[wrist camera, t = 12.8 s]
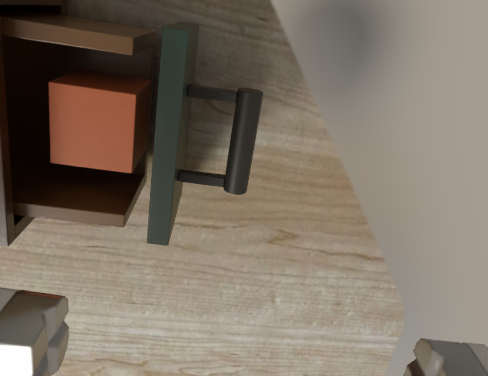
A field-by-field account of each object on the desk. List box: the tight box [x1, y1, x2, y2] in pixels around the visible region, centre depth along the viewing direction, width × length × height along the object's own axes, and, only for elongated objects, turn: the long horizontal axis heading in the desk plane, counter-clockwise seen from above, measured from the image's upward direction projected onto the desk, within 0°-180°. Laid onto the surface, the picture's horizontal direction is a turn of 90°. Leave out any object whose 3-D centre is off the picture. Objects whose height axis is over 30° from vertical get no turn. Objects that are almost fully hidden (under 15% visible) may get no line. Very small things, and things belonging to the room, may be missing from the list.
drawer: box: [0, 5, 263, 245], centre depth 24 cm, size 18×11×7 cm, turn 81°
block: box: [48, 69, 152, 173], centre depth 24 cm, size 4×4×5 cm
